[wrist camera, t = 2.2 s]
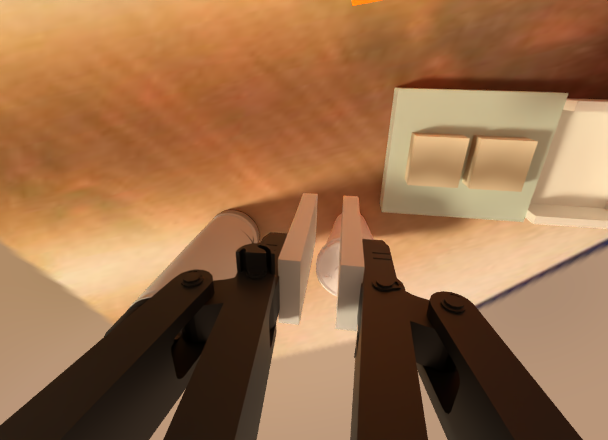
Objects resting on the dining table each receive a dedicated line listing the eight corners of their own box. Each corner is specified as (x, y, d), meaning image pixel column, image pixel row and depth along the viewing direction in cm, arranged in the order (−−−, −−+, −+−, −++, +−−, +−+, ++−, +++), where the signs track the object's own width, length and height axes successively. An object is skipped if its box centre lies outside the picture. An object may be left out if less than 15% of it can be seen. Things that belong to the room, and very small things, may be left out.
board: (394, 87, 30) (398, 88, 28) (551, 91, 29) (568, 93, 26) (379, 203, 35) (381, 212, 33) (511, 212, 34) (523, 221, 31)
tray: (549, 97, 29) (578, 100, 25) (657, 101, 28) (703, 104, 24) (513, 208, 33) (533, 223, 30) (605, 214, 33) (637, 231, 29)
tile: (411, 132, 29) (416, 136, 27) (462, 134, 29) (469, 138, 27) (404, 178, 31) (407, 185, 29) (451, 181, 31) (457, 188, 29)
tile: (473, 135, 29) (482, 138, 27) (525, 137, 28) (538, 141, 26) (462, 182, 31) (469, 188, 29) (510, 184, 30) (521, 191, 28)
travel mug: (269, 224, 38) (199, 357, 20) (246, 262, 41) (165, 409, 23) (224, 197, 37) (109, 310, 19) (203, 237, 40) (85, 369, 22)
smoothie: (316, 240, 38) (301, 321, 26) (331, 193, 35) (322, 257, 23) (367, 255, 38) (376, 344, 25) (386, 209, 35) (407, 282, 23)
